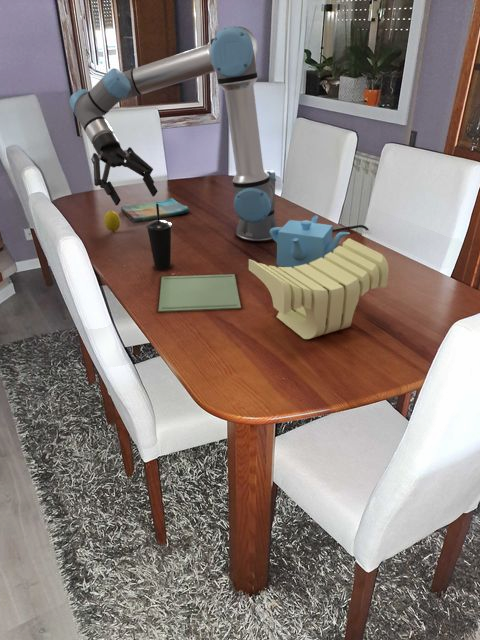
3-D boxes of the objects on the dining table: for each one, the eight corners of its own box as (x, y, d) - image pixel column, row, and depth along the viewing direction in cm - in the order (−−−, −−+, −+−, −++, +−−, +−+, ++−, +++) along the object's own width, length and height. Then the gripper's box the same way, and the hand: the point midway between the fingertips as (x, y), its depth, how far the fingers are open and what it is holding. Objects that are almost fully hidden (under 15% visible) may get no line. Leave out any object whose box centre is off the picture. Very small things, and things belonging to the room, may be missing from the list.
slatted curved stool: (281, 353, 122) (284, 284, 112) (248, 324, 134) (248, 258, 124) (380, 323, 134) (390, 258, 125) (341, 299, 146) (348, 238, 137)
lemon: (117, 235, 189) (115, 213, 184) (103, 234, 189) (100, 212, 185) (123, 230, 193) (121, 208, 189) (109, 229, 194) (106, 207, 190)
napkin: (234, 275, 159) (234, 273, 159) (240, 308, 141) (240, 307, 141) (161, 277, 158) (161, 276, 157) (158, 312, 139) (158, 310, 139)
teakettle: (264, 261, 169) (265, 216, 161) (315, 252, 175) (318, 209, 168) (292, 284, 154) (294, 236, 147) (346, 273, 161) (351, 227, 153)
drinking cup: (145, 269, 162) (139, 206, 152) (158, 261, 168) (152, 199, 158) (167, 273, 160) (162, 209, 149) (179, 264, 166) (174, 201, 155)
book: (190, 213, 210) (190, 207, 209) (135, 223, 200) (134, 216, 198) (173, 202, 222) (173, 196, 221) (120, 211, 212) (119, 205, 211)
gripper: (133, 141, 171) (164, 197, 170) (63, 152, 156) (98, 213, 155) (141, 126, 165) (174, 183, 164) (69, 136, 150) (105, 199, 149)
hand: (137, 198), depth 160 cm, fingers open, 13 cm apart
